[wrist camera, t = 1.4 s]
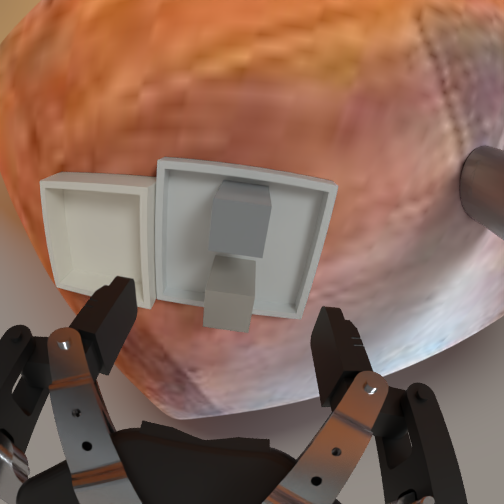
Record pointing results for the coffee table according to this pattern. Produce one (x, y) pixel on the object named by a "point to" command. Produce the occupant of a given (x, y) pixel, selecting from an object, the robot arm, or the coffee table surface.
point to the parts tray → (267, 268)
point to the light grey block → (230, 294)
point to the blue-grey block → (240, 219)
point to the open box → (101, 231)
